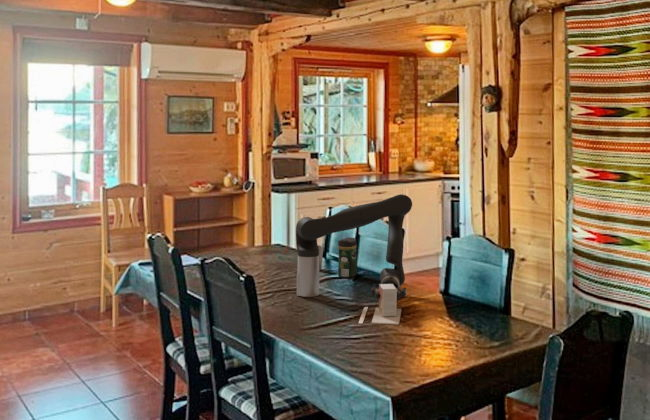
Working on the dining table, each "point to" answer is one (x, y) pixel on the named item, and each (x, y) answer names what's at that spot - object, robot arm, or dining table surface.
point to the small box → (387, 299)
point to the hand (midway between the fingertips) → (387, 297)
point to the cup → (320, 255)
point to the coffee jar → (347, 257)
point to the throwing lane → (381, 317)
